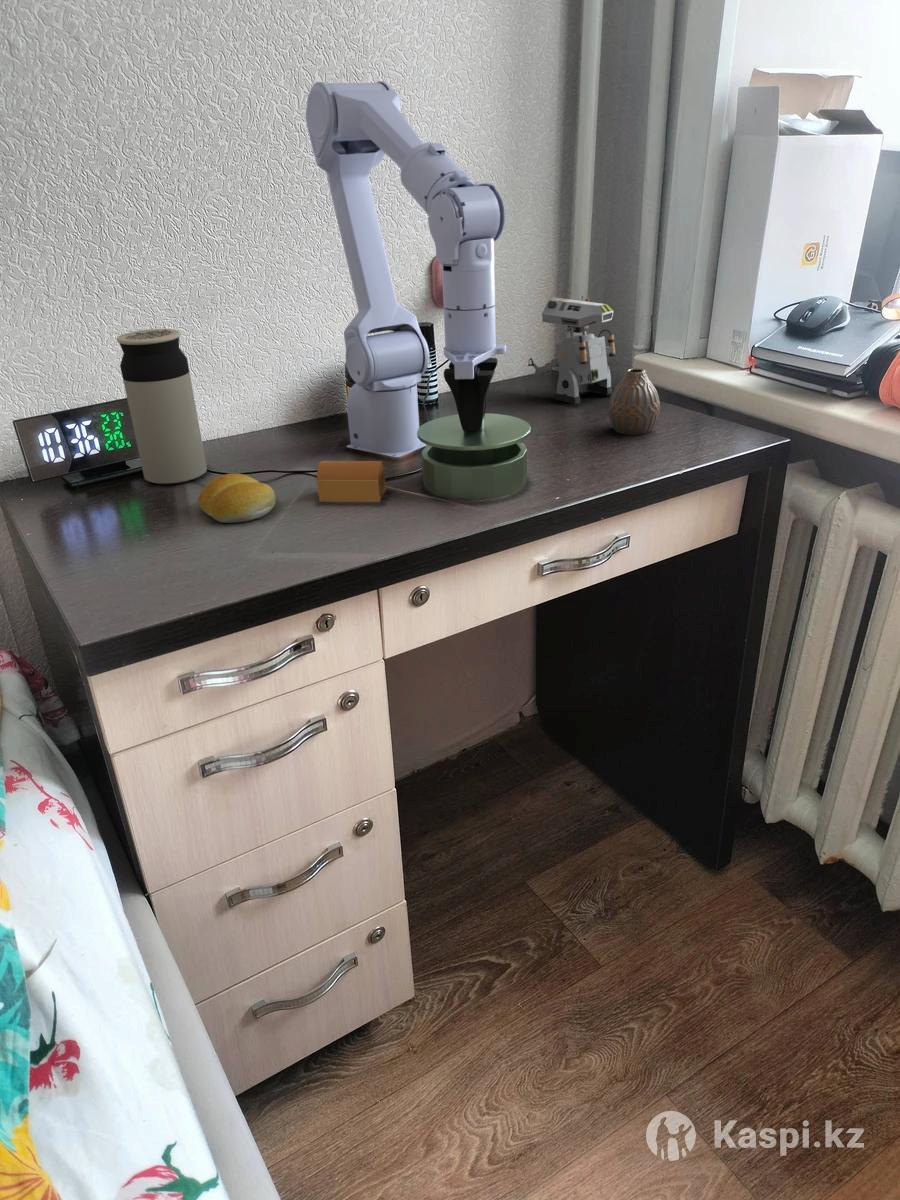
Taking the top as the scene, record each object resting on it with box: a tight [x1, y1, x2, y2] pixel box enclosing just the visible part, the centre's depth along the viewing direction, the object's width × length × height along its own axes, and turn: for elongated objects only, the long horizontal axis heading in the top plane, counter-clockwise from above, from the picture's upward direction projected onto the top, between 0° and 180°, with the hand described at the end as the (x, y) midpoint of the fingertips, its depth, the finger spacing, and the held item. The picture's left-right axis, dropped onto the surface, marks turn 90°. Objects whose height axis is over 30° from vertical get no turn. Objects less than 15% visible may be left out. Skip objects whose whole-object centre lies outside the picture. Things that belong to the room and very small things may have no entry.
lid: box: [417, 412, 532, 451], centre depth 102 cm, size 13×13×5 cm
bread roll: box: [197, 473, 276, 524], centre depth 101 cm, size 8×9×4 cm
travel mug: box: [116, 328, 208, 485], centre depth 110 cm, size 8×8×18 cm
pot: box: [420, 441, 528, 501], centre depth 105 cm, size 12×12×4 cm
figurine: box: [527, 297, 617, 405], centre depth 136 cm, size 9×12×15 cm
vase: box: [608, 367, 661, 436], centre depth 119 cm, size 7×7×9 cm
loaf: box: [316, 460, 387, 503], centre depth 103 cm, size 7×4×4 cm, turn 83°
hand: (473, 426), depth 103 cm, fingers closed on lid, 2 cm apart
